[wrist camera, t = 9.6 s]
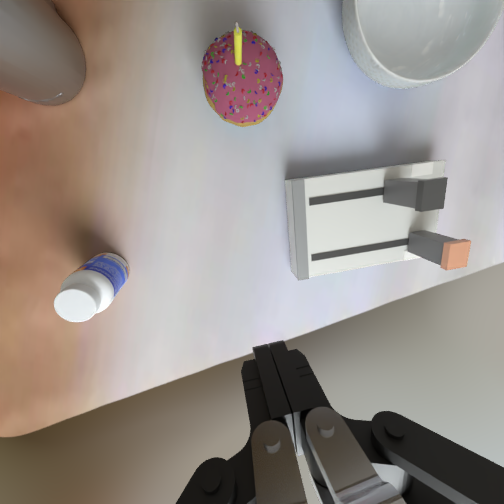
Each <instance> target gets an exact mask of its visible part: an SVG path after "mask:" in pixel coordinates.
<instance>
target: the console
mask: <svg viewBox="0 0 504 504" xmlns="http://www.w3.org/2000/svg"><path fill="white" fill-rule="evenodd" d="M444 167H445V160H438V161H423V162H416V163H408V164H401V165H393V166H386V167H378V168H371V169H363V170H356V171H348V172H341V173H334V174H326V175H319V176H311V177H304V178H296V179H289V180H285V190H286V203H287V217H288V231H289V245H290V259H291V272H292V273H293V274H294V276H295V277H296V278H297V279H298V281H299V280H305V279H309V277H314V276H320V275H325V274H331V273H336V272H342V271H348V270H353V269H359V268H364V267H370V266H376V265H381V264H387V263H392V262H398V261H406V260H411V259H417V258H422V257H419V256H417V255H415V254H412V253H410V252H408V242H409V232H415V231H421V230H426V231H430V232H433V233H436V230H437V222H438V214H439V209H437V210H431V211H424V212H419V211H415V208H410V207H404V206H399V205H394V204H389V203H383V198H384V180H389V179H396V178H417V179H432V178H439V177H443V175H444Z"/></svg>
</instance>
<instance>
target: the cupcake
mask: <svg viewBox="0 0 504 504" xmlns="http://www.w3.org/2000/svg"><path fill="white" fill-rule="evenodd" d="M235 24H236V28H235V29H234V31H232V32H229V31H228V32H227V33H225V34H224V35H223V36H221V37H220V38H216V39H215V41H214V42H213V43H212V44H211V45H210V47H209V48H208V49H207V51H206V50H205V55H204V57H203V62H202V71H203V86H204V90H205V95H206V98H207V101H208V103H209V104H210V106H211V107H212V108H213V109H214V111H215V112H216V113H217V114H218V115H219V116H220V117H221V118H222V119H223V120H224V121H226V122H229V123H232V124H234V125H237V126H240V127H246V126H251V125H256V124H259V123H260V122H262V121H263V120H264V119H266V118H267V117H268V116H269V115H270V113H271V112H272V110H273V109H274V107H275V105H276V103H277V100H278V98H279V96H280V93H281V90H282V85H283V74H282V68H281V66H280V64H281V62H280V61H278V58H277V56H276V53H275V51H274V50H275V48H272V47H271V46H270V45H269V44H268V42H267V41H265V40H264V39H262V38H261V37H260V36H258V35H257V34H256V33H253V32H252V31H251V32H249V31H244V30H241V28H240V27H238V22H237V21H236V22H235ZM273 49H274V50H273ZM279 62H280V63H279Z"/></svg>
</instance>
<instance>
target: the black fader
mask: <svg viewBox="0 0 504 504" xmlns="http://www.w3.org/2000/svg"><path fill="white" fill-rule="evenodd" d="M446 185H447V178H445V177H439V178H432V179H417V178H396V179H389V180H384V198H383V203H389V204H394V205H399V206H404V207H410V208H415V211H419V212H424V211H431V210H437V209H443V208H444V200H445V193H446Z"/></svg>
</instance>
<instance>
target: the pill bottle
mask: <svg viewBox="0 0 504 504" xmlns="http://www.w3.org/2000/svg"><path fill="white" fill-rule="evenodd" d="M128 278H129V267H128V265H127V263H126V262H125V260H124V259H123V258H121V257H120V256H118V255H116V254H113V253H101V254H98V255H96V256H94V257H93V258H91V259H90V260H89V261H87V262H86V263H85V264H84V265H82V266H81V267H80V268H78V269H77V270H76V271H74V272H73V273H72V274H71V275H69V276H68V277H67V278H66V279H65V280H64V281H63V283H62V286H61V291H60V293H59V294H58V295H57V296H56V298H55V300H54V308H55V310H56V312H57V313H58V314H59V316H61V317H62V318H64V319H65V320H68V321H71V322H83V321H86V320H88V319H90V318H91V317H92V316H93V315H94V314H95V313H99V312H101V311H103V310H104V309H106V308H107V307H108V306H109V305H110V303H111V302H112V300H113V299H114V298H115V296H116V295H117V293H118V292H119V291H120V289H121V288H122V287H123V285H124V284H125V283H126V281H127V280H128Z"/></svg>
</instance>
